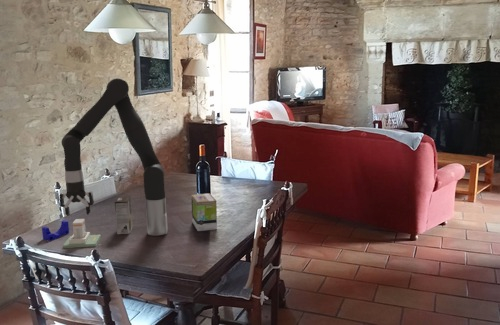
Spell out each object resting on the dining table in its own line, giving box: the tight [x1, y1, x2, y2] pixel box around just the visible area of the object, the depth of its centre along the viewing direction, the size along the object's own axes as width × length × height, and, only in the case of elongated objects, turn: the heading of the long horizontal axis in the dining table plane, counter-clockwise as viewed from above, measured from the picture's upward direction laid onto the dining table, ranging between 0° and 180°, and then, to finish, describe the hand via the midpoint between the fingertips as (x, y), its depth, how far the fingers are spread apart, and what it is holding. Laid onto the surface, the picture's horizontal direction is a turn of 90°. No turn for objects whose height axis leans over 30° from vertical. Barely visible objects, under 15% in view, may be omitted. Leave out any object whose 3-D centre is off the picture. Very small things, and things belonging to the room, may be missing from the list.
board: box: [62, 231, 102, 249], centre depth 222 cm, size 14×12×3 cm
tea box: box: [190, 192, 218, 232], centre depth 241 cm, size 15×10×15 cm, turn 17°
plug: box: [72, 218, 87, 239], centre depth 221 cm, size 4×6×9 cm
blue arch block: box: [41, 220, 70, 242], centre depth 230 cm, size 12×4×6 cm, turn 146°
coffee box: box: [114, 196, 133, 235], centre depth 235 cm, size 9×6×16 cm
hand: (78, 214), depth 219 cm, fingers open, 8 cm apart
